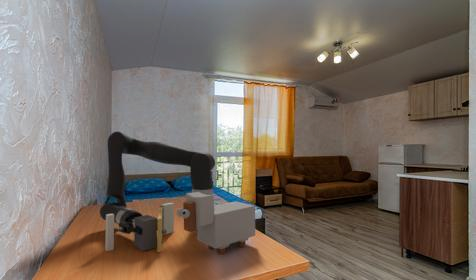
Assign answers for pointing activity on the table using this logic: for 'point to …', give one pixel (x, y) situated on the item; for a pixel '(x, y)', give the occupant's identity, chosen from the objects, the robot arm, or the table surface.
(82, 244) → the table surface
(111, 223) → the wall frame
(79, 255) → the table surface
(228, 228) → the toy
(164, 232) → the door
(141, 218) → the rubber block
